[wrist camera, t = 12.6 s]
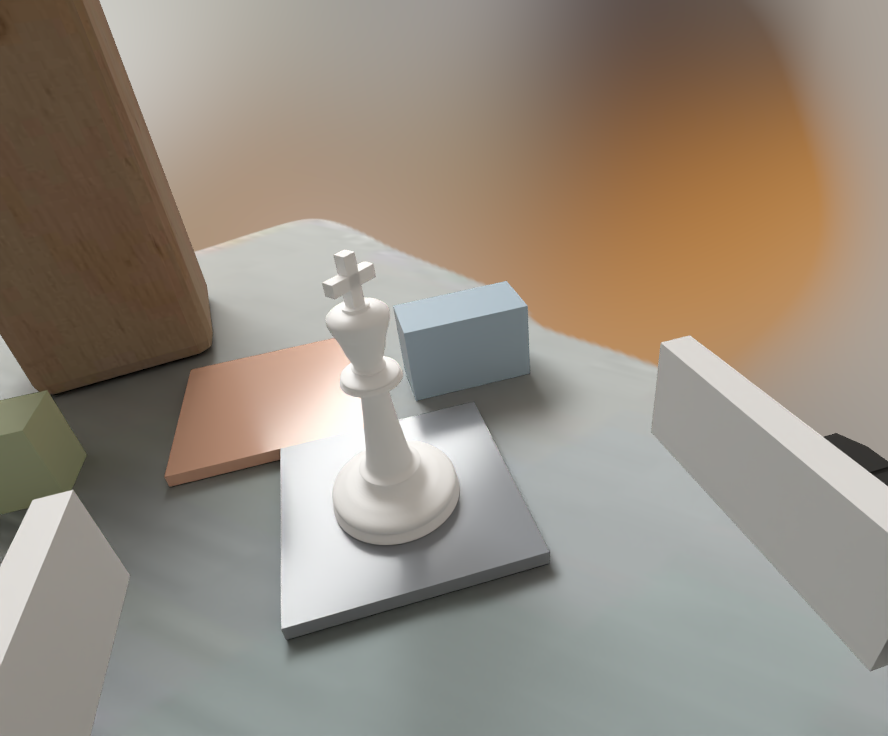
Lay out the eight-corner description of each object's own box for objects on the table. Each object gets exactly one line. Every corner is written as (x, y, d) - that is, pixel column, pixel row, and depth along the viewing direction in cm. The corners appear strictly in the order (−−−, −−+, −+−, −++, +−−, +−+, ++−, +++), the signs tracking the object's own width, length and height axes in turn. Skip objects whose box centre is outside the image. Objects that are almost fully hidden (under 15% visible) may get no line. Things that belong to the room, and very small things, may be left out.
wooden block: (219, 354, 34) (58, -54, 23) (36, 406, 32) (-241, -26, 21) (210, 293, 42) (88, -34, 31) (64, 330, 40) (-126, -11, 29)
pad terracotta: (169, 486, 25) (164, 477, 25) (194, 378, 32) (190, 369, 32) (371, 437, 26) (368, 426, 26) (350, 343, 34) (348, 335, 33)
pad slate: (285, 640, 18) (281, 629, 18) (283, 458, 26) (280, 448, 25) (549, 562, 19) (549, 551, 19) (475, 411, 27) (473, 401, 27)
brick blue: (416, 402, 28) (404, 333, 26) (405, 371, 31) (393, 305, 29) (529, 375, 29) (527, 305, 27) (510, 346, 32) (506, 281, 29)
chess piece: (485, 480, 22) (461, 236, 17) (399, 569, 19) (336, 307, 14) (394, 436, 25) (348, 214, 20) (307, 507, 22) (224, 269, 17)
